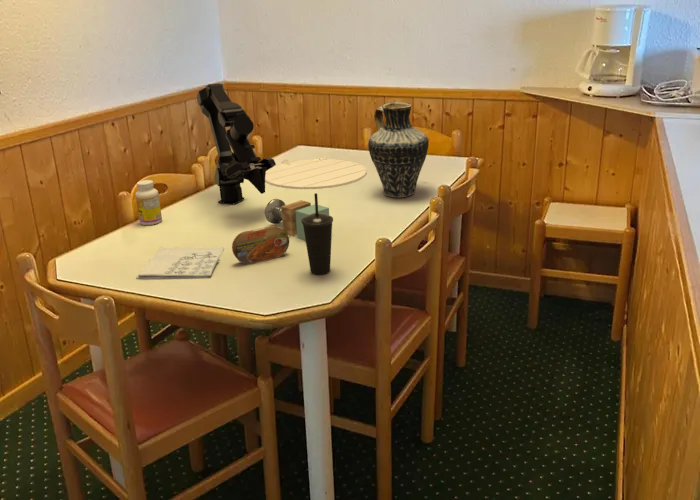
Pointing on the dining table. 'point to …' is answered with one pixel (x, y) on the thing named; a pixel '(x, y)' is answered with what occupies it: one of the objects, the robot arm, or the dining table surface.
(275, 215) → the metal mushroom knob
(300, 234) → the socket block
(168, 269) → the folded printed napkin
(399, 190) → the jug
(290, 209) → the sleeve block
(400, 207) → the dining table surface
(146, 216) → the supplement bottle
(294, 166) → the lazy susan
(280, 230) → the tin
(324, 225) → the drinking cup
